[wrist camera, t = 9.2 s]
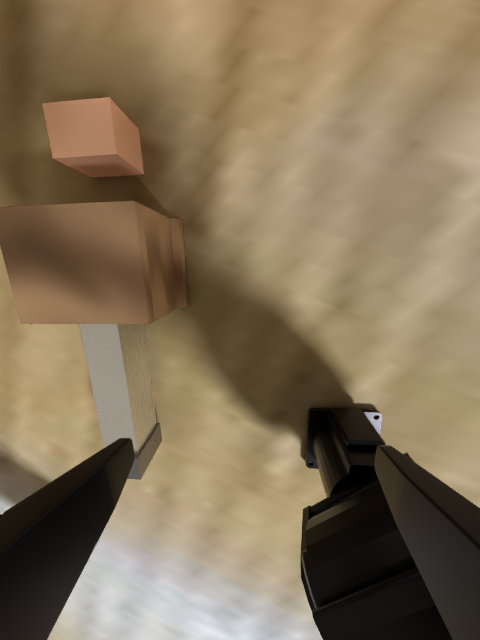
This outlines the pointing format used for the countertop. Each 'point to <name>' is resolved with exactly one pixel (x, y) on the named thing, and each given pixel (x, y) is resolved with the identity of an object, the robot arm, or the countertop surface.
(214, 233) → the countertop surface
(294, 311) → the countertop surface
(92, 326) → the shaft
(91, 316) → the block
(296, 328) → the countertop surface
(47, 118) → the block
